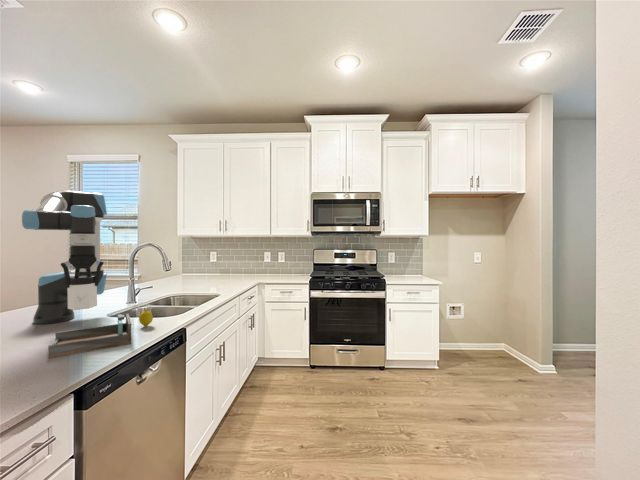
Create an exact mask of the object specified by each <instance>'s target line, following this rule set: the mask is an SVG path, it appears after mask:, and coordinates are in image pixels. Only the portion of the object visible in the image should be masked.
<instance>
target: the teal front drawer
mask: <svg viewBox="0 0 640 480" xmlns="http://www.w3.org/2000/svg"><path fill="white" fill-rule="evenodd" d="M126 345H132V321H131V317H130V314H129V313H125V322H124V323H123V322H122V334H121V335H118V323H114V324H109V325H100V326H93V327H87V328H78V329H70V330H65V331H64V330H63V331H56V332H55V338H54V341H53V343H52V345H48V347H47V349H48V350H47V353H48V354H47V355H48V356H47V357H48V359H51V358H57V357H58V358H59V357H64V356H69V355H75V354H81V353H85V352H86V353H87V352H91V351H97V350H98V351H99V350H103V349H104V350H105V349H110V348H115V347H121V346H126Z"/></svg>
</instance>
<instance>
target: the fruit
mask: <svg viewBox="0 0 640 480" xmlns="http://www.w3.org/2000/svg"><path fill="white" fill-rule="evenodd" d="M153 320H154V316H153V313H152V311H149V310H148V309H145V310H144V311H142V312H141V313H140V315H139V318H138V321H139V324H141V326H142V325H143V327H145V328H146V327H148V326H149V325H150V324H151V323H152V322H153Z"/></svg>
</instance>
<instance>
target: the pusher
mask: <svg viewBox="0 0 640 480" xmlns="http://www.w3.org/2000/svg"><path fill="white" fill-rule="evenodd" d="M123 320H125V315H124V314H117V324H118V335H121V334H122V323H123Z"/></svg>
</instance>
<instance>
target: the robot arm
mask: <svg viewBox="0 0 640 480" xmlns="http://www.w3.org/2000/svg"><path fill="white" fill-rule="evenodd" d="M105 199H106V198H105V196H104V194H102V193H101V192H91V191H90V192H89V191H77V190H76V191H75V190H58V191H54V192H50V193H48V194H46V195H44V196H43V197H42V198H41V200H40V205H39V206H38V207H37V208H36V210H35V209H26V210H24V211H22V214H21V224H22V228H24V229H25V230H33V231H38V230H39V231H46V230H47V231H49V230H50V231H70V245H71V246H70V249H69V250H70V256H69V258H68V260H66V261H63V262H61V263H60V266H61V267H62V269H63V271H60V272H51V273H49V274H44V275H41V276H39V278H38V283H37V287H38V289H37V290H38V291H37V292H38V293H37V297H38V299H37V300H38V302H37V308H36V311H35V313H34V315H33V318H32V322H33V324H36V325H47V324H48V325H49V324H56V323H61V322H62V323H63V322H67V321H70V320H72V319H74V318H75V310H71V309H68V290H67V288H69V287H70V286H69V278H70V277H74V278H77V277H79V276H87V277H91V276H95V286H97V296H99V295H102V294H104V292H105V288H106V282H107V275H108V273H107V272H104V268H102V266H103V265H104V261H103V260H101V221H102V220H104V219H105V218H104V217H105V216H107V215H108V213H107V206H106V200H105ZM70 265H71V266H72V267H74V269H75V271H74V273H73V274H71V272H70V270H69V267H70Z"/></svg>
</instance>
